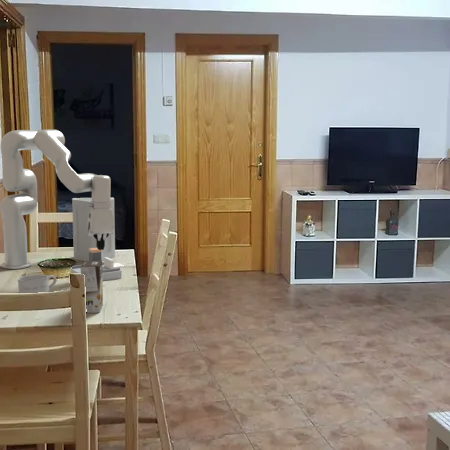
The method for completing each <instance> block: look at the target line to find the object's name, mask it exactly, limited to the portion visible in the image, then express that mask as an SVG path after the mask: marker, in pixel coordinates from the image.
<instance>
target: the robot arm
mask: <svg viewBox="0 0 450 450" xmlns="http://www.w3.org/2000/svg"><path fill="white" fill-rule="evenodd" d="M65 143H66V139H65V136H64V134H63V133H62V132H61V131H59V130H58V129H40V130H39V129H38V130H37V129H17V130H11V131H9V132H6V133H5V134H4V136H2V138H1V141H0V153H1V163H2V164H1V166H2V167H1V168H2V169H1V170H2V171H1V172H2V185H3V188H4V190H6V191H7V192H11V193H13V192H14V194H10V195H6V196H5V197H4V198H2V200H1V201H0V215H1V218H2V231H3V247H4V248H3V249H4V250H3V251H4V262H2V263H1V264H0V265H1V268H3V269H8V270H18V269H25V268H26V269H27V268H29V267H31V266H32V262H31V261H28V260H29V259H28V242H27V240H28V239H27V238H28V236H27V234H28V233H27V224H26V221H25V219H24V217H23V216H25V215H30V214H32V213H34V212H35V211H36V209H37V207H38V181H37V176H36V175H35V173H34V171H32V170H31V169H29V168H24V159H23V155H22V154H21V153H20V151H36V150H39V151H40V152H41V153H42V154H43V155H44V156H45V157H46V159H48V160H49V161H50V162H51V163H52V164H53V166H54V167H55V168H54V170H55V173H56V175H57V177H58V179H59V180H60V182H61V183H62V184H63V185H64V186H65V187H66V188H67V189H68V190H69V191H71V192H72V193H74V194H81V193H87V192H88V193H89V192H91V198H92V201H91V203H89V207H90V206H91V208H92V209H90V212H89V218H88V231H89V232H88V235H89V236H92V237H94V238H95V239H96V240H97V243H96V246H97V249H99V250H104V247H105V240H106V238H107V237H108V236H109V235H112V234H113V232H114V223H115V215H114V216H113V210H112V209H111V208H110V198H111V184H112V183H111V181H112V180H111V177H110V176H109V175H103V174H99V175H98V174H95V173H89V172H88V173H87V172H86V173H77V172H76V171H75V170H74V169H73V168H72V167H71V166H70V164H69V161H70V160H71V157H72V153H71V151H70V150H69V149H68V147H66V146H65ZM15 192H18V193H16V194H15ZM100 234H101V238H100Z"/></svg>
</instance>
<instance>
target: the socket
mask: <svg viewBox="0 0 450 450" xmlns="http://www.w3.org/2000/svg"><path fill="white" fill-rule="evenodd" d="M81 265H82V264H77V265H71V266H72V269H71V273H81V267H80V266H81ZM117 279H122V270H121V268H113V269H110V268H107V267H105V266H104V261H102V281H112V280H117Z"/></svg>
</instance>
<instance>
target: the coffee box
mask: <svg viewBox="0 0 450 450" xmlns="http://www.w3.org/2000/svg"><path fill="white" fill-rule="evenodd" d="M102 262H103V261H83V262H82V263H81V264H80V265H81V266H80V267H81V274H84V275H85V287H86V309H87V313H86V314H88V313H89V314H92V313H95V314H98V313H101V311H102V308H103V305H104V299H103V298H104V295H103V294H104V293H103V291H104V289H103V281H102Z"/></svg>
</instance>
